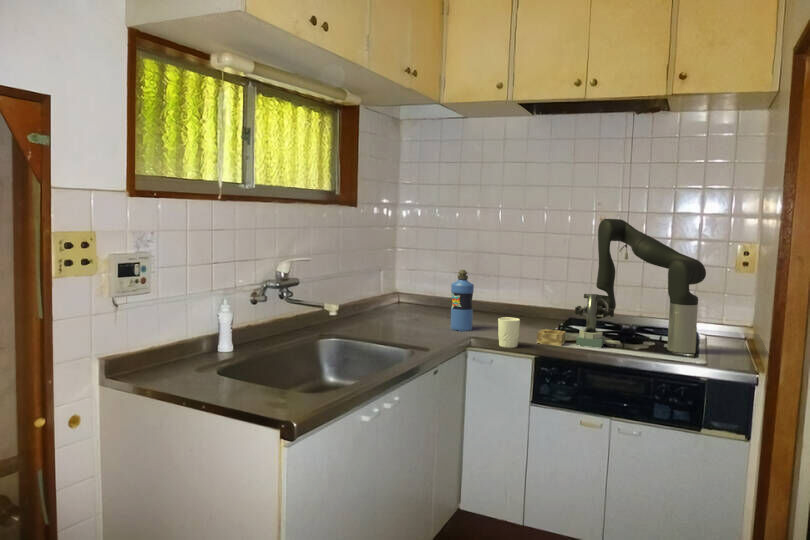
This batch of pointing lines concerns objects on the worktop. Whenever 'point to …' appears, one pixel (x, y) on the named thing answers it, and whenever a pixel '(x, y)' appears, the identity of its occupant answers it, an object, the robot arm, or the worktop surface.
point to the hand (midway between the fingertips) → (592, 313)
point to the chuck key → (591, 312)
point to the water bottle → (462, 303)
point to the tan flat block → (551, 337)
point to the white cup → (508, 331)
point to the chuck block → (592, 339)
